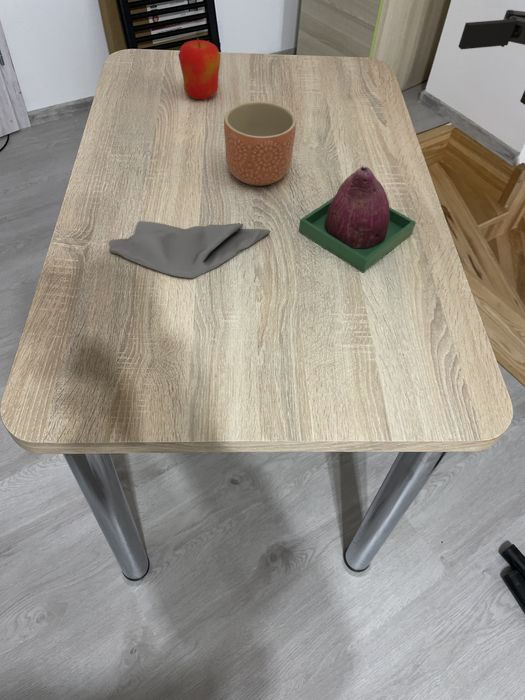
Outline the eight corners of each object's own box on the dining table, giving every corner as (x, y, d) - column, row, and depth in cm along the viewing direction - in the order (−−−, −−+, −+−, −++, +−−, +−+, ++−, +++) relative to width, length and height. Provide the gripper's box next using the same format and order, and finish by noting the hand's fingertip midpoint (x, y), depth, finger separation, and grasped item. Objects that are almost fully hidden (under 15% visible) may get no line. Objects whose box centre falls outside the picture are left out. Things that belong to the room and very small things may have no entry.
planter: (291, 157, 104) (296, 101, 96) (291, 196, 96) (296, 139, 88) (227, 153, 104) (226, 98, 95) (222, 192, 96) (221, 135, 88)
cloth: (100, 277, 82) (97, 266, 80) (115, 219, 90) (113, 208, 89) (271, 281, 83) (271, 271, 81) (269, 224, 91) (270, 213, 90)
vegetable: (360, 270, 89) (376, 214, 75) (312, 236, 92) (318, 176, 78) (397, 229, 92) (419, 168, 78) (349, 197, 95) (362, 133, 81)
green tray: (412, 234, 91) (416, 221, 89) (363, 272, 85) (366, 260, 83) (348, 197, 97) (351, 185, 95) (298, 231, 91) (300, 219, 88)
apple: (197, 109, 114) (194, 50, 105) (173, 93, 118) (168, 35, 108) (228, 97, 118) (228, 39, 108) (204, 82, 121) (202, 25, 112)
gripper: (702, 129, 61) (542, 151, 57) (568, 36, 75) (432, 48, 71) (752, 60, 55) (578, 79, 51) (596, -26, 70) (450, -17, 65)
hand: (492, 61), depth 61 cm, fingers open, 13 cm apart
